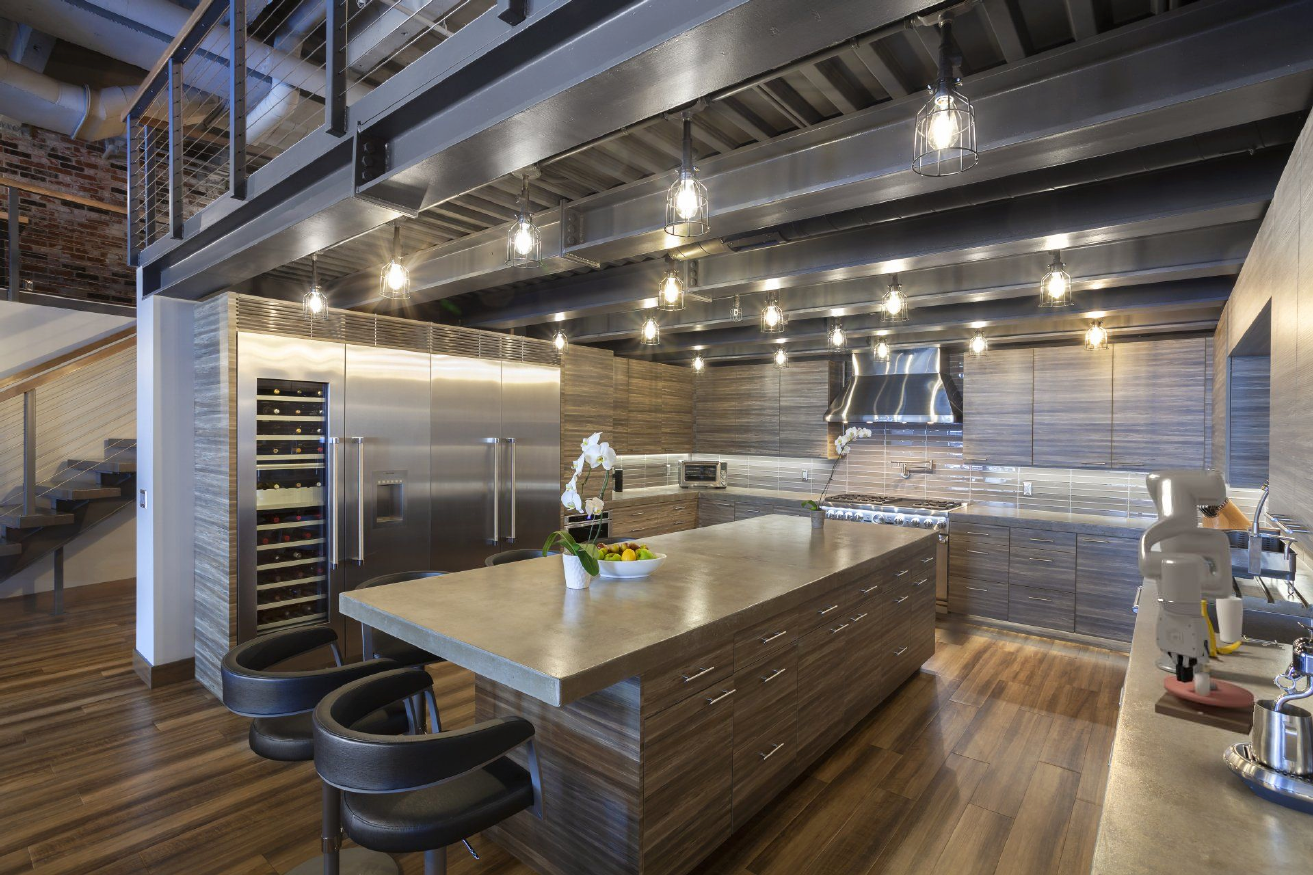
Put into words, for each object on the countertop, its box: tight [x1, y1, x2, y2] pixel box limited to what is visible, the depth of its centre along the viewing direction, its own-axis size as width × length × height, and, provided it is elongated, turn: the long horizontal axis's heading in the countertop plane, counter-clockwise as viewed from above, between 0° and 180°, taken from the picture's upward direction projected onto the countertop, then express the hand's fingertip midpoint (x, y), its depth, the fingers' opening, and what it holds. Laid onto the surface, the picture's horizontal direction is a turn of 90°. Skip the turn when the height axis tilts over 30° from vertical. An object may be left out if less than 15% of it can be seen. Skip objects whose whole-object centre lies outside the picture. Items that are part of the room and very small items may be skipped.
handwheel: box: [1163, 672, 1255, 707], centre depth 157 cm, size 17×17×6 cm
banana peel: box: [1201, 599, 1242, 658], centre depth 201 cm, size 17×19×17 cm
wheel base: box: [1154, 690, 1256, 736], centre depth 157 cm, size 20×17×4 cm
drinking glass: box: [1215, 595, 1244, 645], centre depth 212 cm, size 7×7×15 cm
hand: (1184, 680), depth 156 cm, fingers closed
